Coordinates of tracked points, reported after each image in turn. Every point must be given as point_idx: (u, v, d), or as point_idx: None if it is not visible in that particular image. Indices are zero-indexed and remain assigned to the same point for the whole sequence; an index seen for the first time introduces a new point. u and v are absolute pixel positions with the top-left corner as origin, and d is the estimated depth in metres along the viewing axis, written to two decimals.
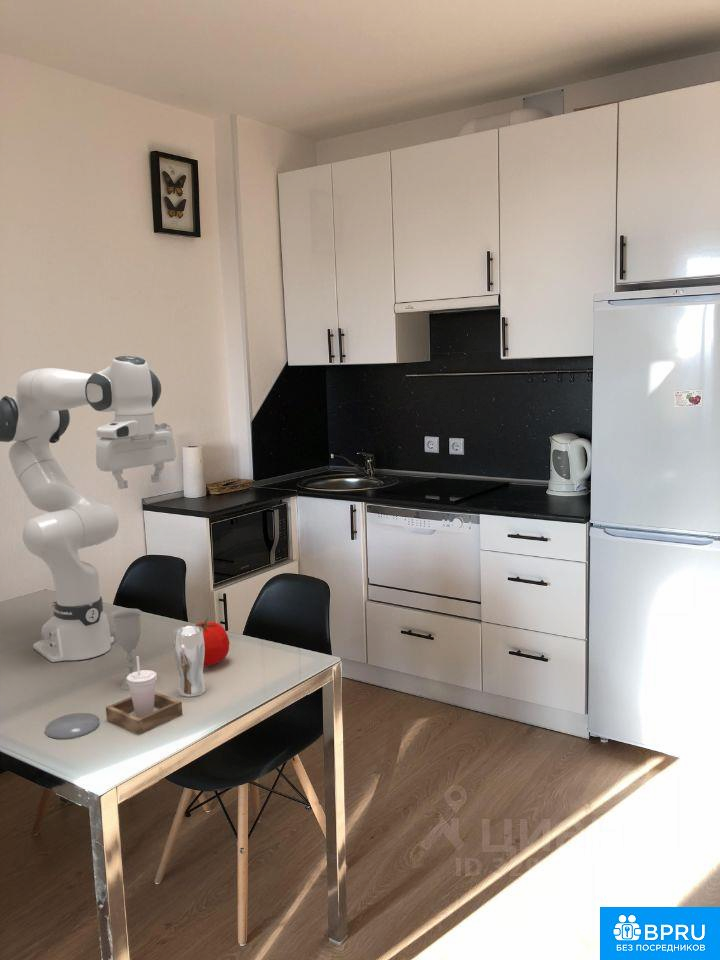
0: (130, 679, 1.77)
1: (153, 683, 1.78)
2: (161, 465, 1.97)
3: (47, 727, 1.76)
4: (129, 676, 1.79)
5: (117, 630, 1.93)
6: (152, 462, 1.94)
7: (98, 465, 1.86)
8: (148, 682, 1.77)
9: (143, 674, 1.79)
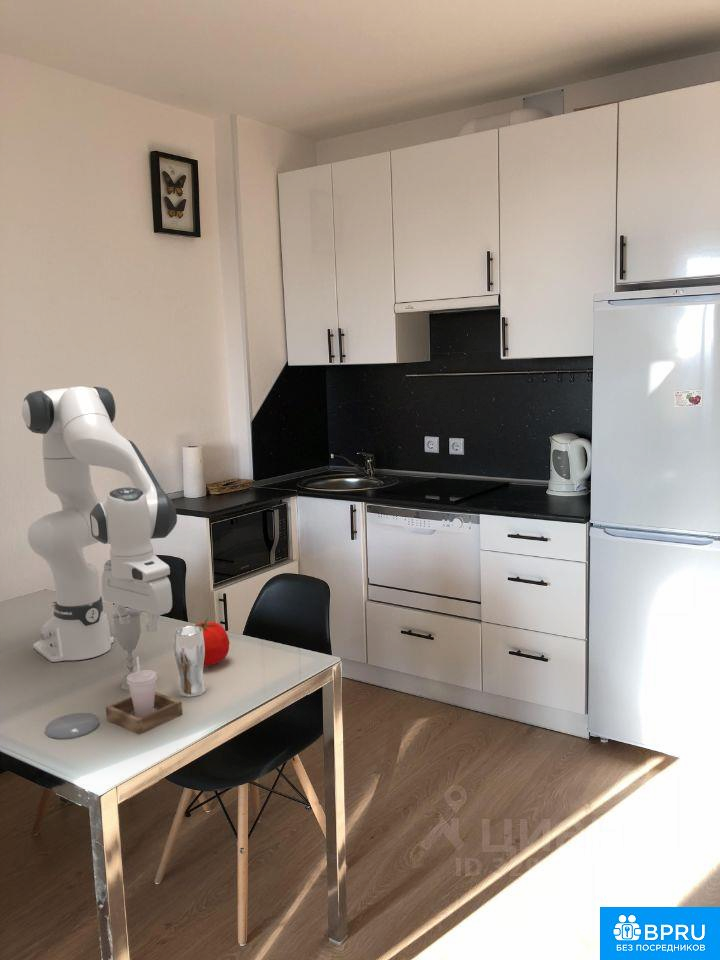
0: (130, 679, 1.77)
1: (153, 683, 1.78)
2: None
3: (47, 727, 1.76)
4: (129, 676, 1.79)
5: (117, 630, 1.93)
6: None
7: (161, 609, 1.69)
8: (148, 682, 1.77)
9: (143, 674, 1.79)
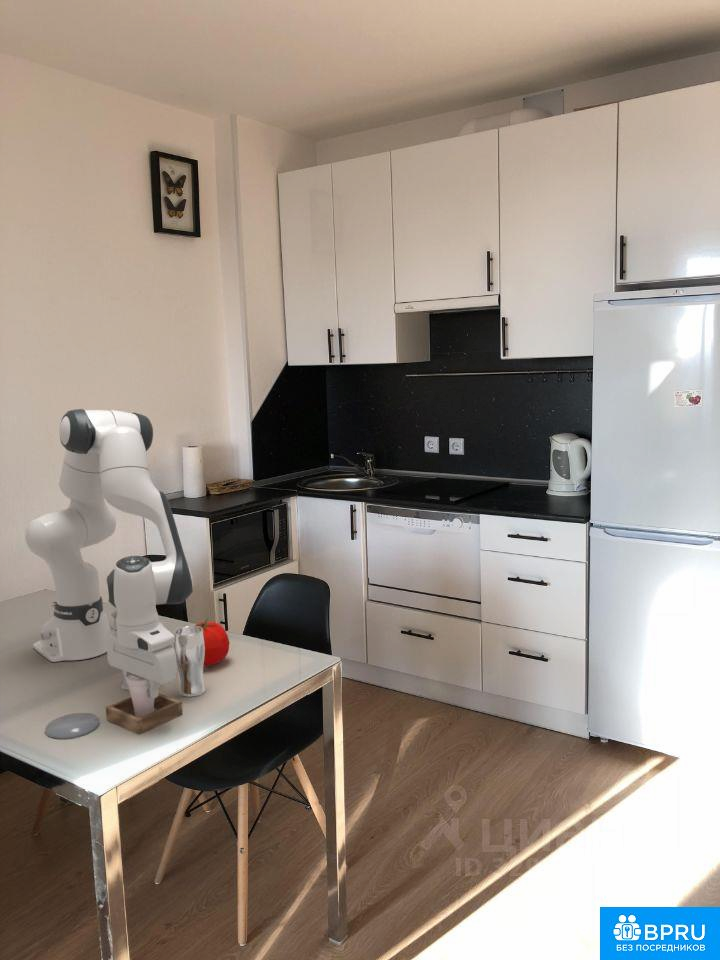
0: (130, 679, 1.77)
1: None
2: None
3: (47, 727, 1.76)
4: (129, 676, 1.79)
5: None
6: None
7: (166, 679, 1.71)
8: (148, 682, 1.77)
9: None
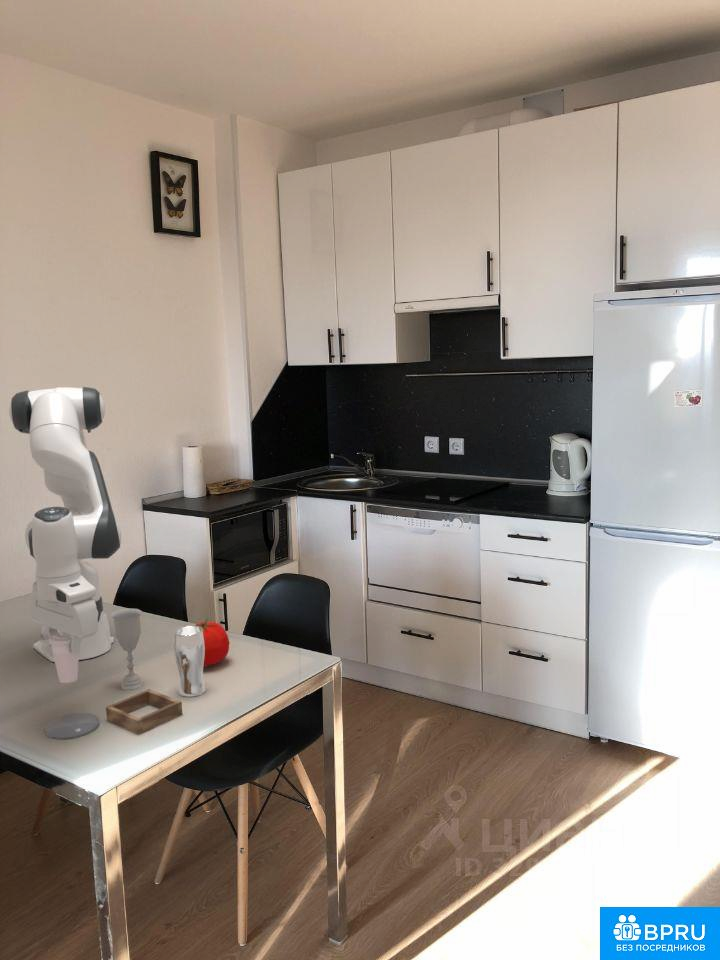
0: (52, 639, 1.72)
1: None
2: None
3: (47, 727, 1.76)
4: (52, 637, 1.73)
5: (117, 630, 1.93)
6: None
7: (86, 632, 1.66)
8: None
9: (66, 635, 1.74)
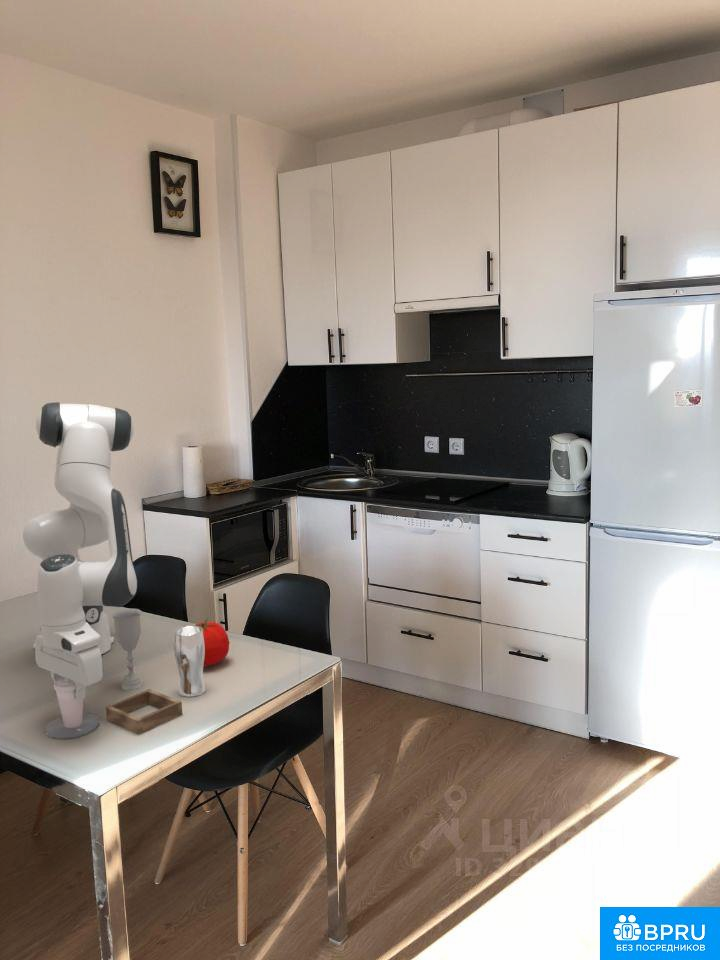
0: (57, 685, 1.73)
1: None
2: None
3: (47, 727, 1.76)
4: (56, 682, 1.75)
5: (117, 630, 1.93)
6: None
7: (91, 680, 1.68)
8: None
9: (71, 680, 1.75)
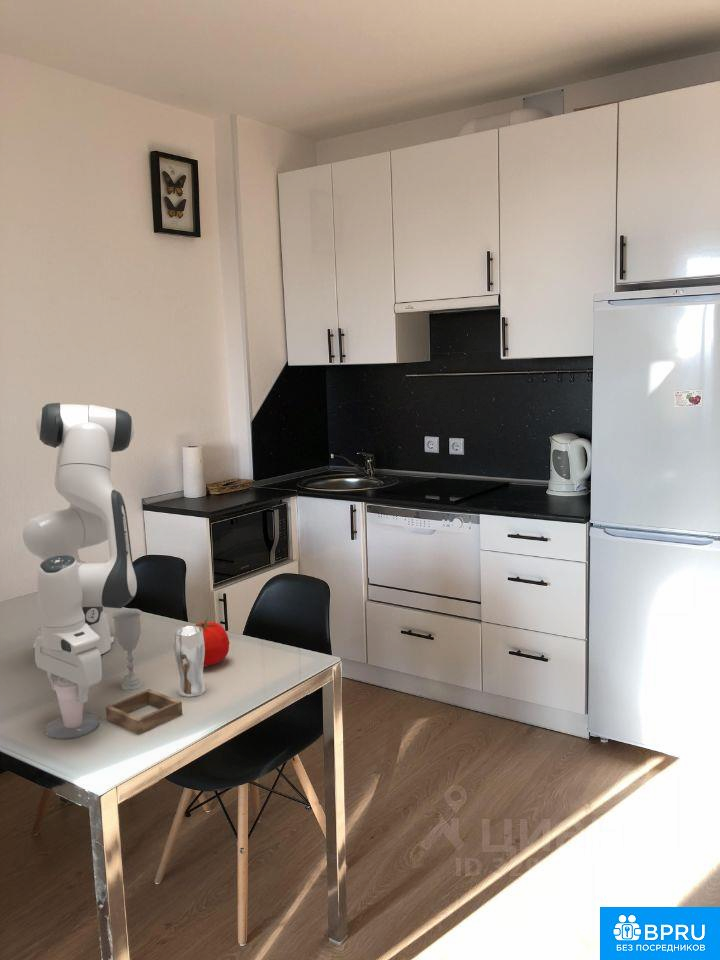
0: (57, 685, 1.73)
1: None
2: None
3: (47, 727, 1.76)
4: (56, 682, 1.75)
5: (117, 630, 1.93)
6: None
7: (90, 681, 1.68)
8: (76, 688, 1.73)
9: None
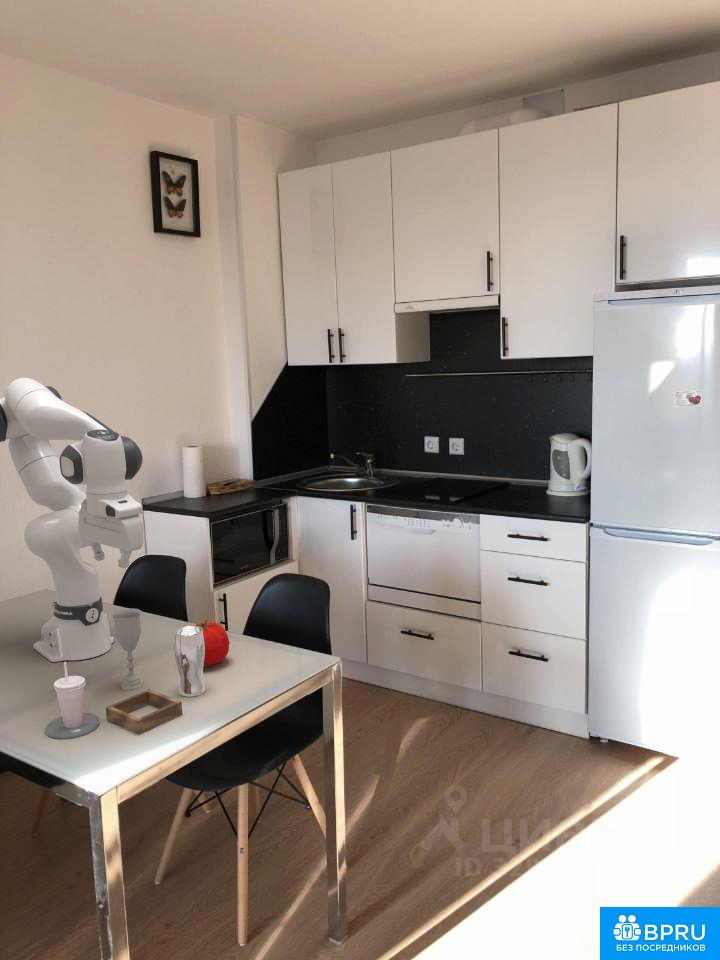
0: (57, 685, 1.73)
1: (81, 689, 1.75)
2: None
3: (47, 727, 1.76)
4: (56, 682, 1.75)
5: (117, 630, 1.93)
6: None
7: (133, 545, 1.77)
8: (76, 688, 1.73)
9: (71, 680, 1.75)
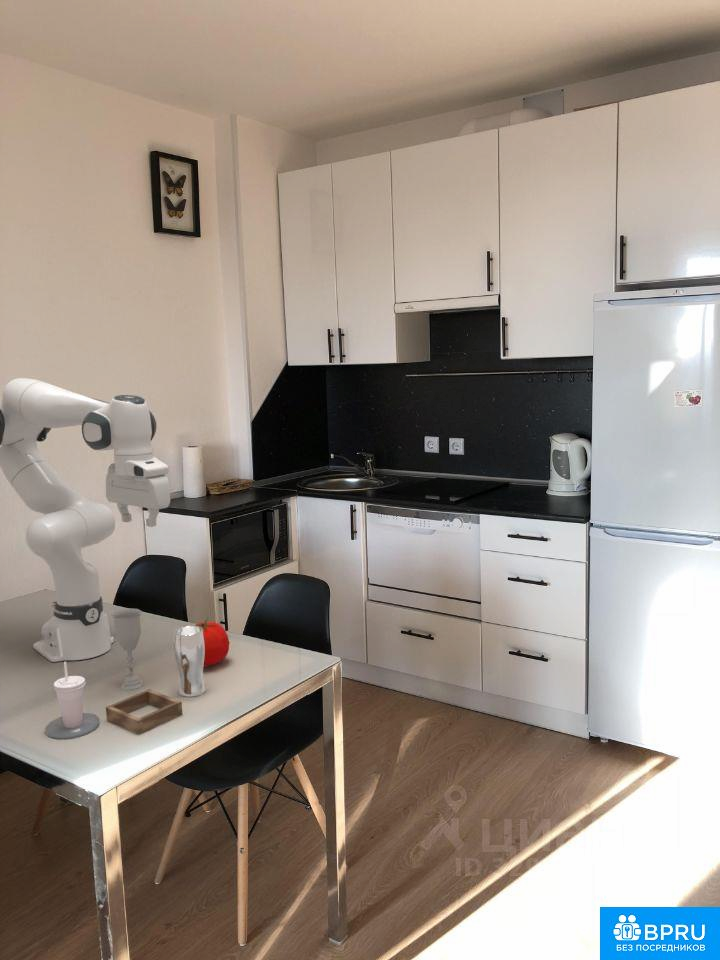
0: (57, 685, 1.73)
1: (81, 689, 1.75)
2: None
3: (47, 727, 1.76)
4: (56, 682, 1.75)
5: (117, 630, 1.93)
6: None
7: (160, 503, 1.85)
8: (76, 688, 1.73)
9: (71, 680, 1.75)
